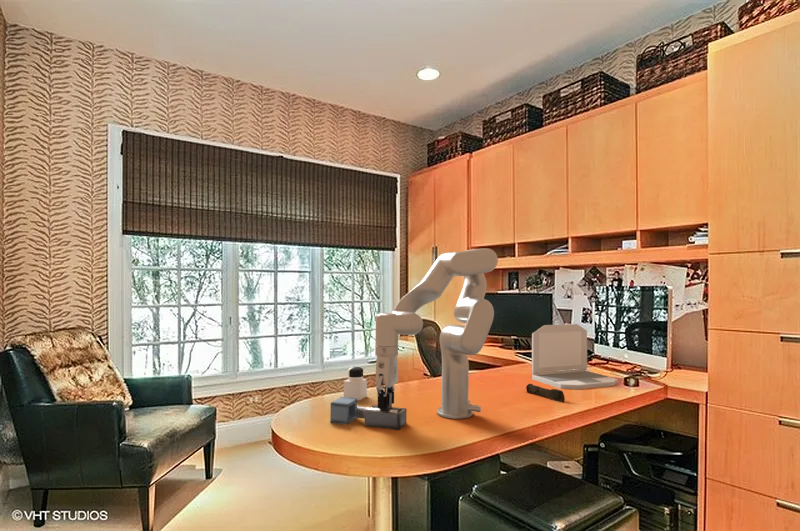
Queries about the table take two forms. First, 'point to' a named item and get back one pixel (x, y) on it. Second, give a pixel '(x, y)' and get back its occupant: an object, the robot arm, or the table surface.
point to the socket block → (343, 410)
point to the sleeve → (386, 418)
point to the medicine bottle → (355, 384)
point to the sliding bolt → (361, 410)
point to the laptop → (564, 358)
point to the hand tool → (546, 392)
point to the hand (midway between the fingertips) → (385, 405)
